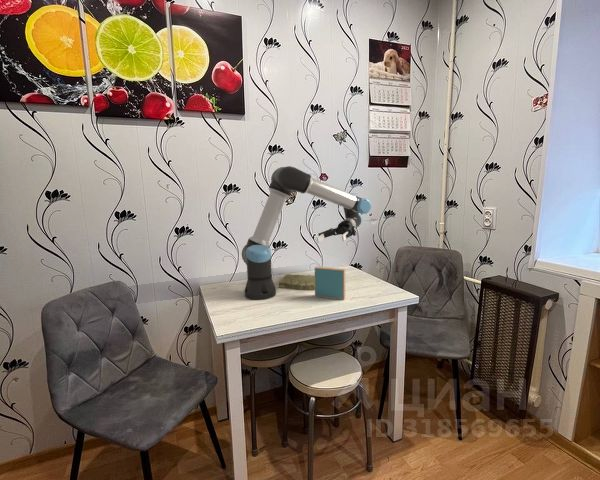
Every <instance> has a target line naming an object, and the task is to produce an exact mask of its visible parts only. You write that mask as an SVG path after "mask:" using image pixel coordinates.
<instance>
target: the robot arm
mask: <svg viewBox="0 0 600 480" xmlns="http://www.w3.org/2000/svg"><path fill="white" fill-rule="evenodd" d="M268 190H269V195H268V197H267V200H266V203H265V205H264V207H263V210H262V212H261V215H260V217H259V219H258V221H257V225H256V228H255V230H254V232H253V235H252V236H250V237H248V239H247V241H246V244H245V245H244V246H243V248H242V250H241V258H242V259H241V260H243V262H244V263H245V265H246V271H247V272H246V274H247V275H246V276H247V279H246V284H245V288H244V297H245V298H246V299H249V300H257V301H260V300H267V299H271V298H273V297H275V296H276V295H277V289H276V286H275V282H274V281H273V274H272V272H273V271H272V251H271V248H270V247H271V245H270V243H269V242H270V240H271V237H272V234H273V231H274V230H275V227H276V224H277V221H278V219H279V217H280V215H281V212H282V209H283V207H284V204H285V201H286V200H287V199H289V198H290V197H291V196H292V192H297V193H301V194H309V195H311V196H314V197H317V198H319V199H322V200H324V201H327V202H330V203H332V204H335V205H338V206H340V207H342V208H343V212H344V218H345V219H343V220H342V221H340V222H339V223H338V225H337V226H336V227H334V228H333V227H331V228H329V229H328V230H324V231H322V232H318V236H317V237H316V242H317V244H320V243H321V242H322V241H324V240H325V239H326V238H329V237H333V236H338V235H341V240H342V242H346V240H347V239H349V238H350V237H352V236H353V237H354V236H355V237H356V236H357V235H356V234H357V233H356V229H358V228H359V226H360V225H361V224H362V222H363V217H362V215H364V214H368V213H369V212H370V211H371V209H372V202H371V201H370V200H369V199H367V198H362V197H359V196H357V195H355V193H354V192H353V193H349V192H347V191H345V190H343V189H340V188H337V187H335V186H332V185H330V184H328V183H326V182H323V181H320V180H318V179H315V178H313V177H312V175H311V174H309V173H307V172H304V171H303V170H301V169H298V168H296V167H294V166H292V165H291V166H290V165H289V166H282V167H278V168H277V169H275V170H274V171H273V173H272V175H271V177H270V184H269V187H268Z"/></svg>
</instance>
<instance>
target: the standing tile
mask: <svg viewBox="0 0 600 480" xmlns="http://www.w3.org/2000/svg"><path fill="white" fill-rule="evenodd" d="M314 276H315V290H314V297H315V298H324V299H333V300H341V301H345V299H346V268H338V267H337V268H336V267H327V266H315V267H314Z"/></svg>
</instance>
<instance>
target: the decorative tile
mask: <svg viewBox="0 0 600 480" xmlns="http://www.w3.org/2000/svg"><path fill="white" fill-rule="evenodd" d="M278 289H289V290H299V291H315V275H313V274H311V275H310V274H291V273H287V274H285V275H284V276H283V277H282V278H281V279H280V281H279V283H278Z"/></svg>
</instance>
